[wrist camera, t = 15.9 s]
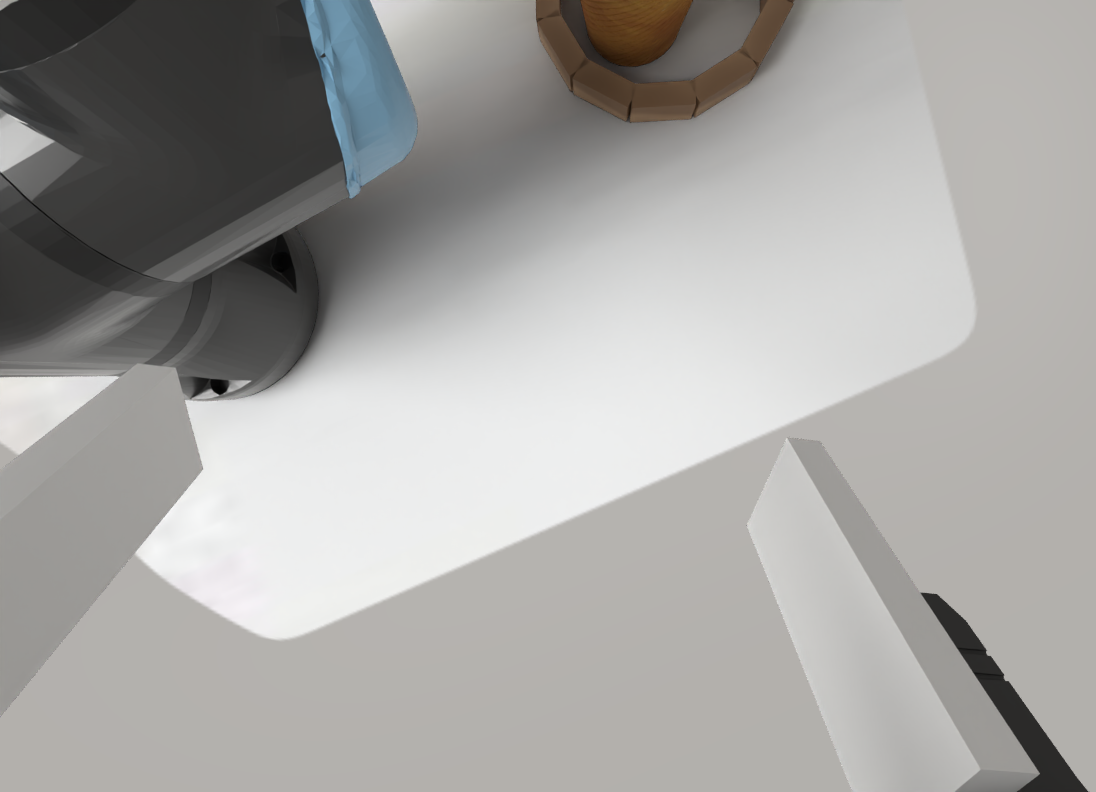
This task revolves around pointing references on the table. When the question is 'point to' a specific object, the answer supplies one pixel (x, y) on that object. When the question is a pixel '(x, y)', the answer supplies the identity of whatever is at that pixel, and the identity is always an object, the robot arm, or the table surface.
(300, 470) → the table surface
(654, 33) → the disposable coffee cup
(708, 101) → the walnut bead ring
